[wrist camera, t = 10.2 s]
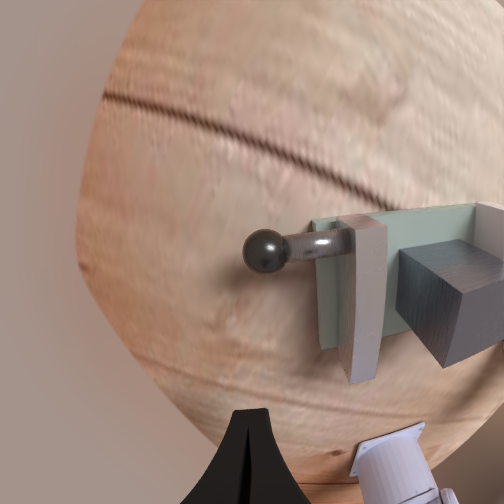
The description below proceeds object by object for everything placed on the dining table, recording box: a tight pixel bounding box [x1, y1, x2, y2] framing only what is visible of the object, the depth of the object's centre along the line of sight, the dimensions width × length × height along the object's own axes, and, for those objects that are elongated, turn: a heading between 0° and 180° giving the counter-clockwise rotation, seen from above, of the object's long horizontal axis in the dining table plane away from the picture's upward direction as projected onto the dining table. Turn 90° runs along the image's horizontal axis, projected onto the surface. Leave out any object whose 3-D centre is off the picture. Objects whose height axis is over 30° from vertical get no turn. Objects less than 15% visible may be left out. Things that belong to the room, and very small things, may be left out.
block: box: [395, 239, 504, 368], centre depth 11 cm, size 5×4×6 cm
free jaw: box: [242, 214, 388, 385], centre depth 13 cm, size 9×6×3 cm
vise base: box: [312, 201, 504, 350], centre depth 13 cm, size 9×13×4 cm, turn 98°
